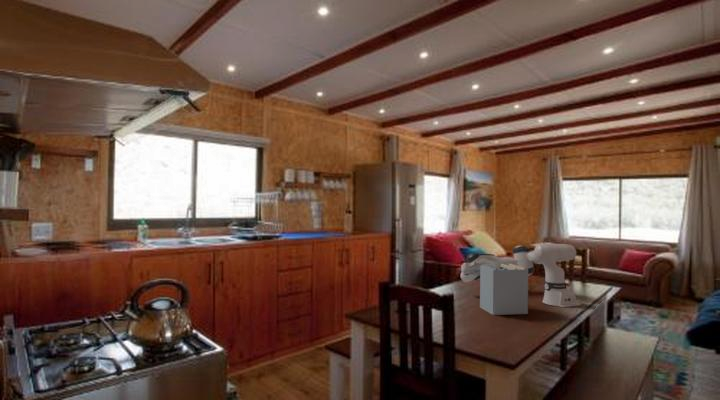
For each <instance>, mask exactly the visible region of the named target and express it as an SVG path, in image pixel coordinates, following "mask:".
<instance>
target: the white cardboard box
mask: <svg viewBox="0 0 720 400" xmlns="http://www.w3.org/2000/svg"><path fill="white" fill-rule="evenodd" d="M479 287H480V288H479V308H480V309H482V310H484V311H485V312H486V313H489V314H491V315H492V316H501V315H502V316H503V315H504V316H505V315H528V314H529V275H528V269H526V268H523V267H520V266H517V265H513V264H509V265H504V264H501V265H500V269H497V268H494V267H492V266H489V265H486V264H483V265H480V280H479Z"/></svg>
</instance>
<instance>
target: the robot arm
mask: <svg viewBox="0 0 720 400" xmlns="http://www.w3.org/2000/svg"><path fill="white" fill-rule="evenodd" d="M512 254H513V257H511V256H510V257H509V256H504V257H500V256H497V255H495V254H493V253H479V252H472V253H469V254H468V255H467V256H466V258H465V259H466V260H465V262H464V263H462V264H461V265H460V269H461V272H460V279H461V280H462V281H463V282H464V283H469V282H471V281H473V280H474V281H480V265H483V264H480V259H487V260H490V261H493V262H496V263H500V265H501V264H504V265H509V264H513V265H517V266H520V267H523V268H526V269H528V276H531V275H532V274H534V273H535V267H534V264H535V265H537V264H538V265H543V267H544V273H545V274H544V276H545V280H544V293H543V299H542V301H541V302H542V303H543V304H546V305H549V306H556V307H561V308H568V307H577V306H578V307H579V306H581V303H580V302H579V301H577V297H576V295H575V293H574V292H572V291H571V290H570V289H568V288H570V287H571V283H568V282H567V283H566V282H565V270H564V268H562V267H561V266H558V265H557V262H558V263H559V262H567V261H572V260H574V259H575V258H576V257H577V250H576V248H575V247H574V246H573V245H571V244H567V243H540V244H537V245H536V246H535V248H534V250H531V248H529V247H528V246H526V245H516V246H515V247H514V248H512ZM533 263H534V264H533Z"/></svg>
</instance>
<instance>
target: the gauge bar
mask: <svg viewBox="0 0 720 400" xmlns="http://www.w3.org/2000/svg"><path fill="white" fill-rule="evenodd" d="M480 264H486V265H489V266H492V267H494V268H497V269H500V263H496V262H493V261H490V260H487V259H480Z"/></svg>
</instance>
